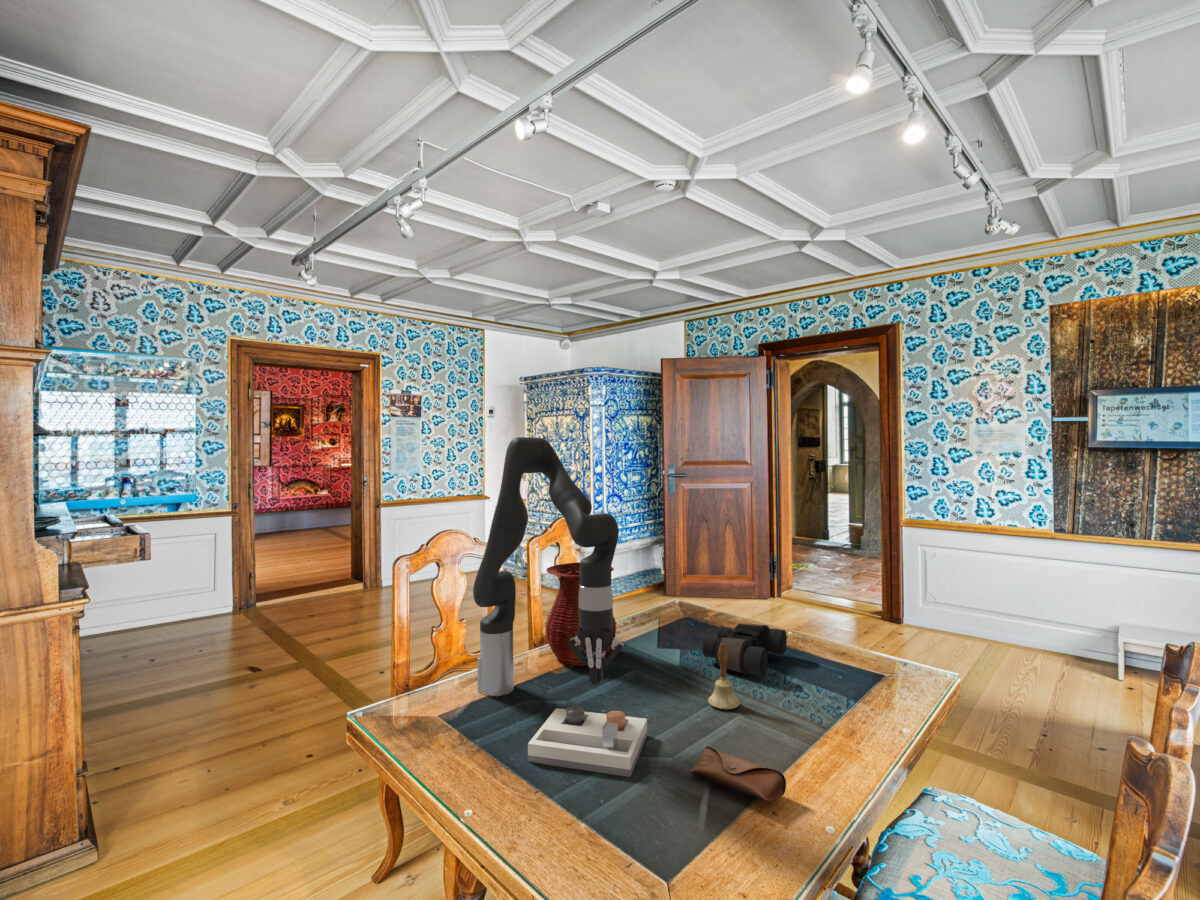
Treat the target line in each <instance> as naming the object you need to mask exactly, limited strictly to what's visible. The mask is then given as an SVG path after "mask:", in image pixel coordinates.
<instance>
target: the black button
mask: <svg viewBox="0 0 1200 900" xmlns="http://www.w3.org/2000/svg"><path fill="white" fill-rule="evenodd" d="M565 709H566V723H567V724H569V725H580V724H583V723H584V721H585V720H584V712H585V708H584V707H583V706H580V705H573V706H571V705H570V706H568V707H567V708H565Z"/></svg>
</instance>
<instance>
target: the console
mask: <svg viewBox="0 0 1200 900" xmlns="http://www.w3.org/2000/svg"><path fill="white" fill-rule="evenodd" d="M566 709H567V708H555V709H554V710H553V711H552V713H551V714H550V716H548V718H547V719H546V720H545V722H544V723H543V724H542V725H541V727H540V728H539V729H538V730H537V732H535V734H534V735H533V737H532V738H531V739H530V740H529V741H528V743H527V762H529V763H535V764H539V765H540V764H541V765H547V766H553V767H559V768H566V769H574V770H580V771H587V772H595V773H600V774H608V775H613V776H621V777H627V778H631V776H632V774H633V772H634V769H635V767H636V764H637V762H638V759H639V757H640V755H641V752H642V749H643V747H644V745H645V743H646V739H647V737H648V719H647V718H644V717H635V716H626V715H625V728H624V729H622V730H618V750H617V751H615V750H608V749H603V741H602V731H603V729H604V727H605V725H606V714H607V713H603V712H602V713H599V712H592V711H584V720H585V721H584V723H583V724H580V725H569V724H567V723H566Z"/></svg>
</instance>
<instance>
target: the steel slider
mask: <svg viewBox="0 0 1200 900" xmlns="http://www.w3.org/2000/svg"><path fill="white" fill-rule="evenodd" d="M602 741H603V749H608V750H615V751H617V750H618V724H617V723H609V722H607V724H606V725H605V727H604V729H603V731H602Z"/></svg>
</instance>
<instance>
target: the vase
mask: <svg viewBox="0 0 1200 900" xmlns="http://www.w3.org/2000/svg"><path fill="white" fill-rule="evenodd" d="M614 570H615V569H614V567H612V565H611V572H613V571H614ZM545 571H546V573H548V574H550V575H554V576H558V577H559V587H558V591H557V594H556V597H555V599H554V601H553V604H552V606H551V609H550V611H549V614H548V615H547V616H548V617H547V618H546V622H545V623H544V624H545V637H546V641H547V643H548V645H549V647H550V650H552V653H553V654H554V656H555V657H556V658H557V659H558V660H559V661H560V662H561V663H564V664H565V665H572V666H577V667H579V666H580V667H583V666H587V665H586V664H582V663H581V662H580V661H579V659H578V658H577V656H576V655H575V653H574V652H573V651H572V649H571V648H570V646H569V645H568V641H569V640H570V639H571V638H572V637H575V636H577V632H578V630H579V588H580V562H568V563H567V562H566V563H561V564H555V565H552V566H549V567H546V570H545ZM617 623H618V622H617V621H616V619H615V616H613V631H614V633H615V636H616V633H617ZM580 642H581V641H580ZM580 645H581V646H582V648H583V649H584V651H585V652H586V653H587V651H586V649H585V648H584V646H583V644H582V643H581V644H580ZM612 645H613V643H612V642H611V644H610V645H609V647H608V648H607V649H606V650H605V655H604V658H606V657H607V655H608V653H610V649H612Z"/></svg>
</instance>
